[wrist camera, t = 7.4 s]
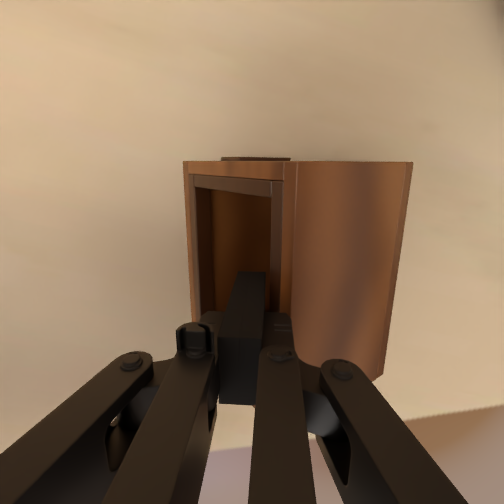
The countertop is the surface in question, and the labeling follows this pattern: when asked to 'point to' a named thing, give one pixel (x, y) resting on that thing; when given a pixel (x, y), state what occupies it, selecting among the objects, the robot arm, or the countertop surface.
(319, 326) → the wooden storage crate
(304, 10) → the countertop surface
